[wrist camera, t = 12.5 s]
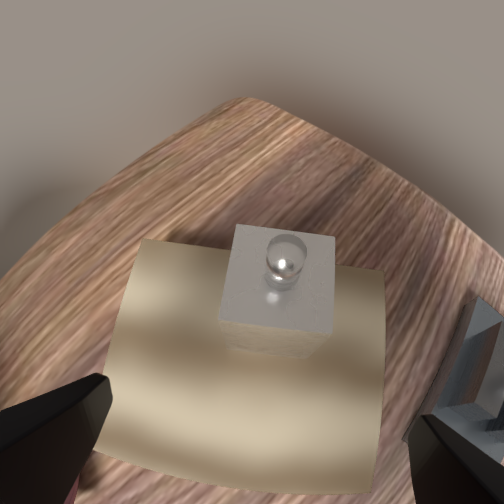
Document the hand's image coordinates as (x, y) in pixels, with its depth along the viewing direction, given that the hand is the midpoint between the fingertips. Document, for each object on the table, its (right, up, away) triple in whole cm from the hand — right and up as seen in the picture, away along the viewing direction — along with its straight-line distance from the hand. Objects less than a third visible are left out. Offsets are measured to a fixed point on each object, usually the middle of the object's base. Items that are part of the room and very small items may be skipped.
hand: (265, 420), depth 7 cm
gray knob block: (+1, +1, +10) cm, 10 cm away
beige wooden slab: (-1, -3, +11) cm, 12 cm away
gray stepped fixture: (+18, -7, +9) cm, 22 cm away
